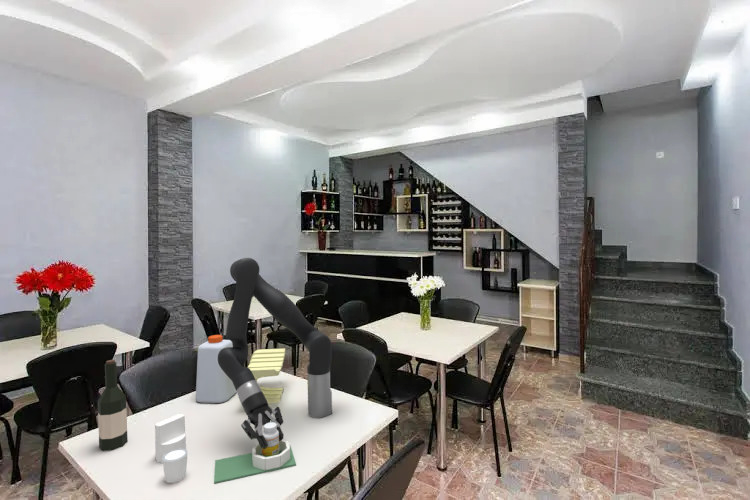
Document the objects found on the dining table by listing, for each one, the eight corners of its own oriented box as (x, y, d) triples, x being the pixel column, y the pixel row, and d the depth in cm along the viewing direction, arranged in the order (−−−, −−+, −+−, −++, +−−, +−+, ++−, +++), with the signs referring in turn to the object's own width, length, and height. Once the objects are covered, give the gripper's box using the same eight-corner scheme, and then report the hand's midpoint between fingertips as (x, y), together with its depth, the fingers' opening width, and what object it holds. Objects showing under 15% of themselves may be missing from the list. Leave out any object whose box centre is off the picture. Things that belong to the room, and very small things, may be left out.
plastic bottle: (240, 390, 181) (238, 332, 180) (224, 404, 166) (222, 341, 165) (210, 389, 183) (208, 332, 182) (191, 403, 168) (189, 340, 167)
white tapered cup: (177, 485, 112) (177, 462, 112) (157, 482, 113) (156, 459, 113) (193, 471, 119) (192, 449, 118) (174, 469, 120) (173, 447, 120)
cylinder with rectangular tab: (165, 466, 122) (164, 429, 121) (150, 457, 127) (149, 422, 126) (191, 452, 129) (190, 417, 129) (176, 444, 134) (175, 411, 134)
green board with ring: (290, 446, 132) (290, 434, 132) (296, 465, 121) (295, 453, 121) (215, 461, 124) (215, 449, 123) (214, 483, 112) (213, 470, 112)
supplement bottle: (263, 450, 127) (263, 421, 126) (280, 449, 127) (280, 420, 127) (260, 459, 121) (259, 429, 121) (277, 458, 122) (277, 428, 121)
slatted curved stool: (252, 385, 187) (252, 349, 187) (285, 384, 189) (285, 348, 188) (236, 413, 158) (235, 371, 157) (275, 411, 159) (274, 369, 158)
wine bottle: (97, 453, 129) (93, 366, 128) (101, 442, 137) (98, 359, 136) (126, 447, 133) (123, 362, 132) (128, 436, 140) (126, 355, 139)
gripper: (236, 398, 123) (259, 448, 115) (274, 385, 134) (296, 429, 127) (228, 410, 126) (249, 459, 119) (265, 396, 137) (286, 439, 130)
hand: (273, 443), depth 123 cm, fingers closed on supplement bottle, 5 cm apart
